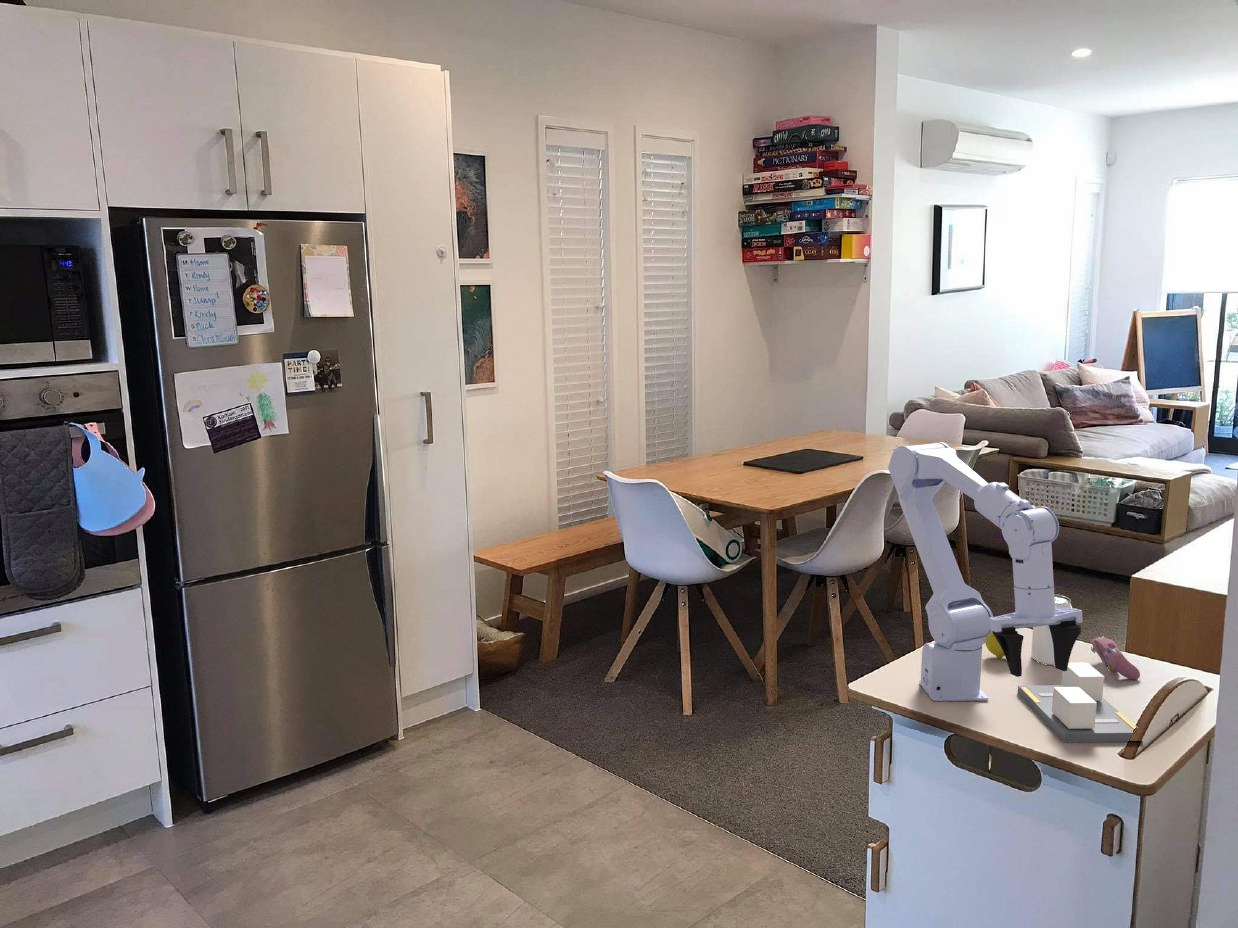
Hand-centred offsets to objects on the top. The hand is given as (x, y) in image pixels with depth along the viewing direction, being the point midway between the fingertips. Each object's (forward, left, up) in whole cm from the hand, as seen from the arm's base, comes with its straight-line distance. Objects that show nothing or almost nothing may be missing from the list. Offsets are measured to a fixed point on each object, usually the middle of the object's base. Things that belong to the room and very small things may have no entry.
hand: (1038, 672), depth 152 cm
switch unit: (+9, +5, -10) cm, 14 cm away
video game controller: (+24, +24, -10) cm, 36 cm away
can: (+15, +29, -10) cm, 34 cm away
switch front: (+6, 0, -8) cm, 10 cm away
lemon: (+6, +30, -10) cm, 32 cm away
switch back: (+12, +10, -8) cm, 18 cm away
